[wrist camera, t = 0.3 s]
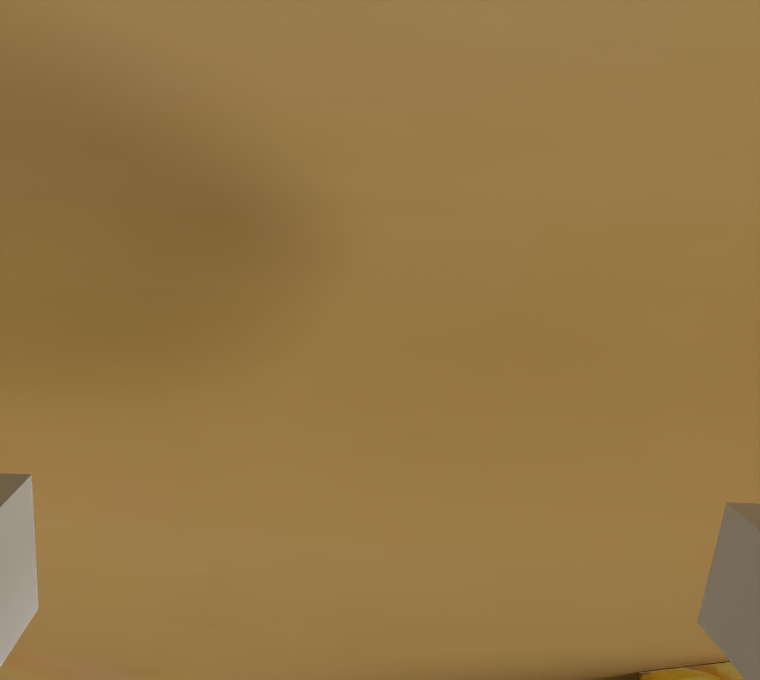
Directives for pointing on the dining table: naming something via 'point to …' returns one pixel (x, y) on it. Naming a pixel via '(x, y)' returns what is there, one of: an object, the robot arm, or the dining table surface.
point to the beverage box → (695, 673)
